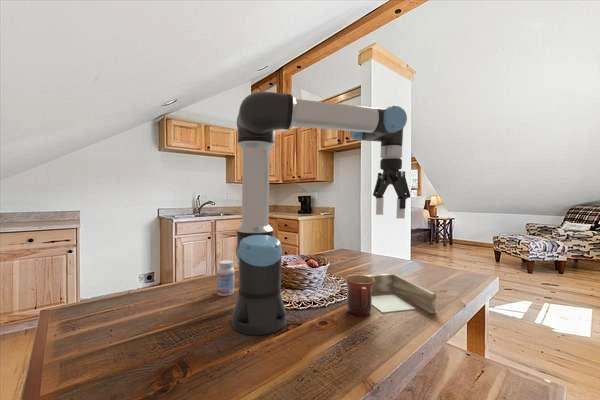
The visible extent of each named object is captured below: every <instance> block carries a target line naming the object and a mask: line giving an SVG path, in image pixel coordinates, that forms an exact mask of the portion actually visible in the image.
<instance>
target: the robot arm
mask: <svg viewBox="0 0 600 400" xmlns="http://www.w3.org/2000/svg"><path fill="white" fill-rule="evenodd" d="M407 119H408V115H407V113H406V111H405V109H404V108H403V107H401V106H399V105H392V106H388V107H386V108H381V107H371V106H363V105H361V106H360V105H353V104H345V103H335V102H327V101H320V100H310V99H302V98H296V97H295V96H294V95H293V94H291V93H282V92H273V91H256V92H252V93H251V94H249V95H247V96H246V97H244V99H243V100H242V101H241V104H240V106H239V110H238V115H237V117H236V128H237V145H238V146H239V148H240V149H241V150H242V157H241V158H242V167H241V169H242V171H241V172H242V173H241V174H242V175H241V176H242V179H241V181H242V183H241V189H242V190H241V225H240V226H239V227H238V228H237V229H236V247H235V257H236V259H237V264H238V297H237V299H236V303H235V305H234V307H233V311H232V314H231V325H232V328H233V329H234V330H235V331H237V332H239V333H240V334H245V335H249V336H262V335H269V334H273V333H275V332H278V331H280V330H281V329H283V328H284V327H285V326H286V325H287V314H288V313H287V311H286V307H285V303H284V299H283V297H282V294H281V293H282V290H281V289H282V288H281V287H282V257H283V256H282V254H283V249H282V242H281V241H280V240H279V239H278V238H277V237H275V236H274V229H273V227H272V226H271V225H270V224H269V222H270V221H269V217H270V216H269V215H270V213H269V212H270V151H271V150H272V149H273V148H274V147H275V131H276V130H286V131H288V130H291V129H293V127H294V128H296V127H297V128H307V129H308V128H309V129H320V130H333V131H335V130H336V131H345V132H349V134H350V137H351V139H352V140H355V141H360V142H361V141H364V142H380V164H379V165H380V166H379V167H380V168H379V169H380V170H381V171H382V172H378V173H377V180H376V183H375V186H374V190H373V193H372V196H373V197H374V198H375V205H376V206H375V208H376V209H375V215H376V216H383V215H384V199H385V198H384V194H385V192H386V190H387V189H388V187H389V186H390V185H391V186H392V188H393V189H394V191H395V194H396V196H397V199H396V219H405V216H406V214H405V213H406V203H407V202H406V201H407V199H410V198H411V193H410V189H409V185H408V182H407V178H406V171H404V170H401V169H402V168H403V167H402V166H403V160H402V157H403V142H404V141H403V139H404V137H403V136H404V128H405V127H406V124H407V121H408V120H407Z"/></svg>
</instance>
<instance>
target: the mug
mask: <svg viewBox="0 0 600 400" xmlns="http://www.w3.org/2000/svg"><path fill="white" fill-rule="evenodd" d="M365 275H366V274H364V275H362V274H350V275H346V276H345V278H344V279H345V282H346V287H347V294H346V307H347V311H348V312H349V313H350V314H351V315H354V316H357V317H364V316H365V317H366V316H368V315H369V314H370V313H371V311H372V307H373V306H372V297H373V296H372V293H373V292H372V287H373V284H374V281H375V280H374V279H373V278H371V277H369V276H365Z"/></svg>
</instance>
